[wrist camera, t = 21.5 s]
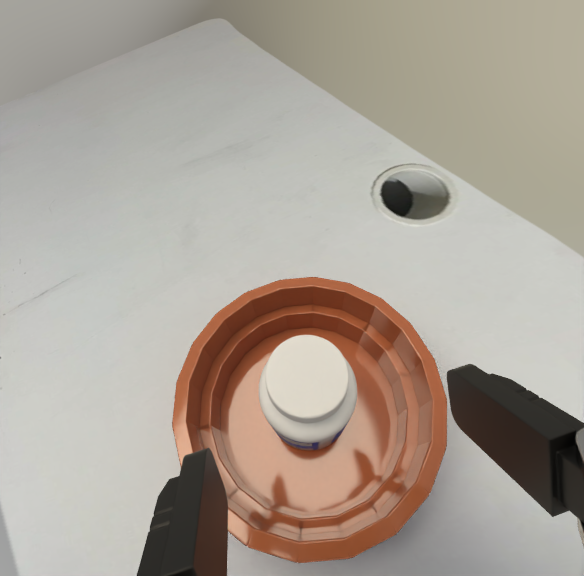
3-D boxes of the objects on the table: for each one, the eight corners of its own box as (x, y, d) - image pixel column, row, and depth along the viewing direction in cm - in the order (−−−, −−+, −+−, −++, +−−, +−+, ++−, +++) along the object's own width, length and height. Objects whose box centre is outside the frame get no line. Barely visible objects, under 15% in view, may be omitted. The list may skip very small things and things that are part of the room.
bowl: (410, 577, 19) (445, 611, 14) (167, 502, 22) (123, 507, 17) (421, 335, 27) (448, 299, 22) (240, 300, 30) (226, 261, 24)
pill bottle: (325, 362, 26) (332, 303, 17) (360, 431, 23) (388, 400, 15) (259, 392, 25) (233, 344, 16) (288, 467, 22) (275, 456, 14)
